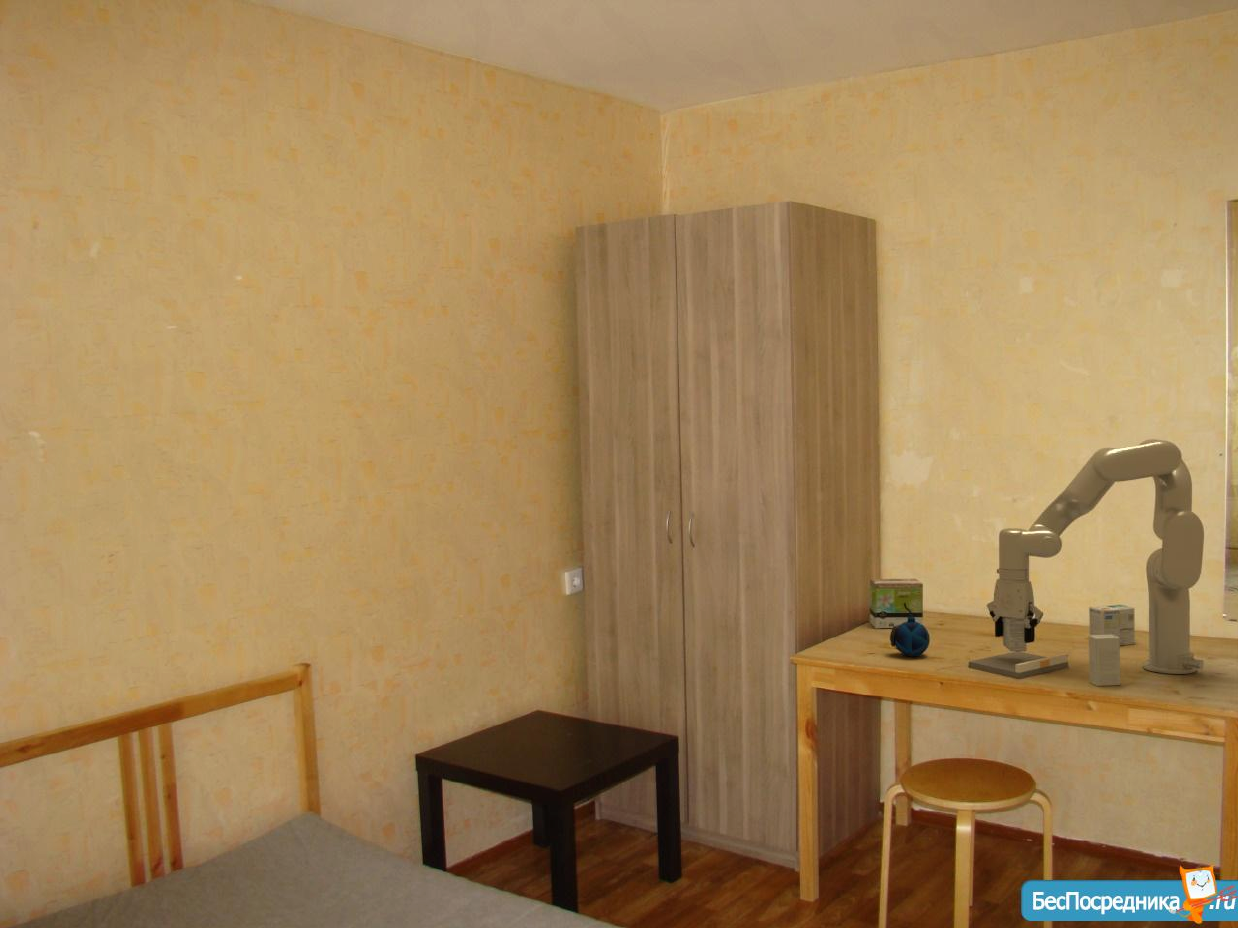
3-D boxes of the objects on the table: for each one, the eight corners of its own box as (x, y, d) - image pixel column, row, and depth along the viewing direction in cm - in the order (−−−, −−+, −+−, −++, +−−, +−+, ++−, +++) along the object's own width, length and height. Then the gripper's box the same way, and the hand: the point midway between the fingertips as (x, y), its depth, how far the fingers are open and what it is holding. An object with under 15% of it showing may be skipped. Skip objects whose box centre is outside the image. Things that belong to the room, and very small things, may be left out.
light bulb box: (1119, 639, 318) (1119, 603, 317) (1135, 644, 311) (1135, 607, 311) (1088, 642, 315) (1088, 606, 315) (1104, 647, 309) (1104, 610, 308)
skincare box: (1112, 681, 271) (1112, 633, 271) (1120, 685, 267) (1120, 637, 267) (1088, 682, 271) (1088, 634, 271) (1096, 686, 267) (1096, 638, 266)
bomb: (890, 651, 311) (889, 599, 311) (929, 652, 308) (928, 600, 308) (889, 659, 302) (888, 605, 301) (930, 660, 299) (929, 606, 298)
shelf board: (1070, 667, 286) (1070, 654, 286) (1020, 679, 276) (1020, 665, 276) (1017, 656, 301) (1017, 643, 300) (968, 667, 290) (968, 654, 290)
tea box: (875, 629, 342) (875, 583, 342) (869, 623, 352) (868, 578, 352) (923, 628, 342) (923, 582, 341) (916, 622, 352) (915, 577, 351)
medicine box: (1026, 651, 285) (1026, 619, 285) (1009, 651, 286) (1009, 618, 285) (1019, 645, 293) (1019, 613, 292) (1002, 645, 293) (1002, 613, 293)
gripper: (978, 572, 294) (978, 635, 294) (1032, 580, 279) (1033, 646, 280) (996, 570, 298) (997, 632, 298) (1051, 577, 283) (1051, 642, 284)
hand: (1014, 639), depth 289 cm, fingers closed on medicine box, 9 cm apart
